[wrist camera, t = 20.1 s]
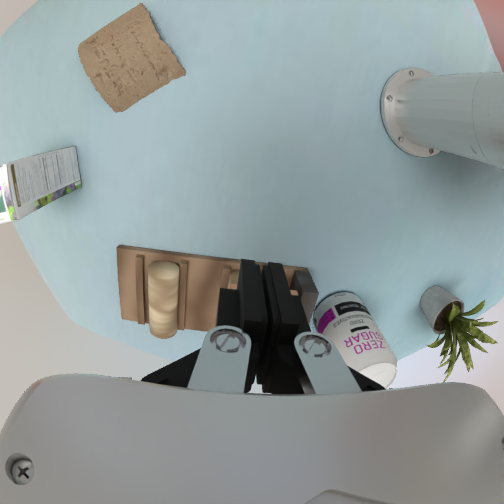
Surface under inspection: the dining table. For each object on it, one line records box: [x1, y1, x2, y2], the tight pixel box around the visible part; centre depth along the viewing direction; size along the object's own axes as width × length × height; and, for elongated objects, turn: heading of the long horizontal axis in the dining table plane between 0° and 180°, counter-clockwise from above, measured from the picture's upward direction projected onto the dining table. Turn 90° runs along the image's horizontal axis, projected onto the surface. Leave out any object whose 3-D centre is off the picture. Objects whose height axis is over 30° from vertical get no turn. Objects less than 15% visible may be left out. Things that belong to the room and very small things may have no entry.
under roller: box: [148, 261, 179, 339], centre depth 38 cm, size 4×10×4 cm, turn 171°
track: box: [117, 245, 319, 331], centre depth 38 cm, size 26×12×6 cm, turn 81°
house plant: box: [420, 286, 497, 383], centre depth 37 cm, size 14×14×16 cm
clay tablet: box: [78, 3, 185, 113], centre depth 26 cm, size 14×10×3 cm
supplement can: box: [313, 292, 397, 389], centre depth 37 cm, size 8×8×15 cm
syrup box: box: [0, 146, 82, 224], centre depth 25 cm, size 6×6×14 cm
